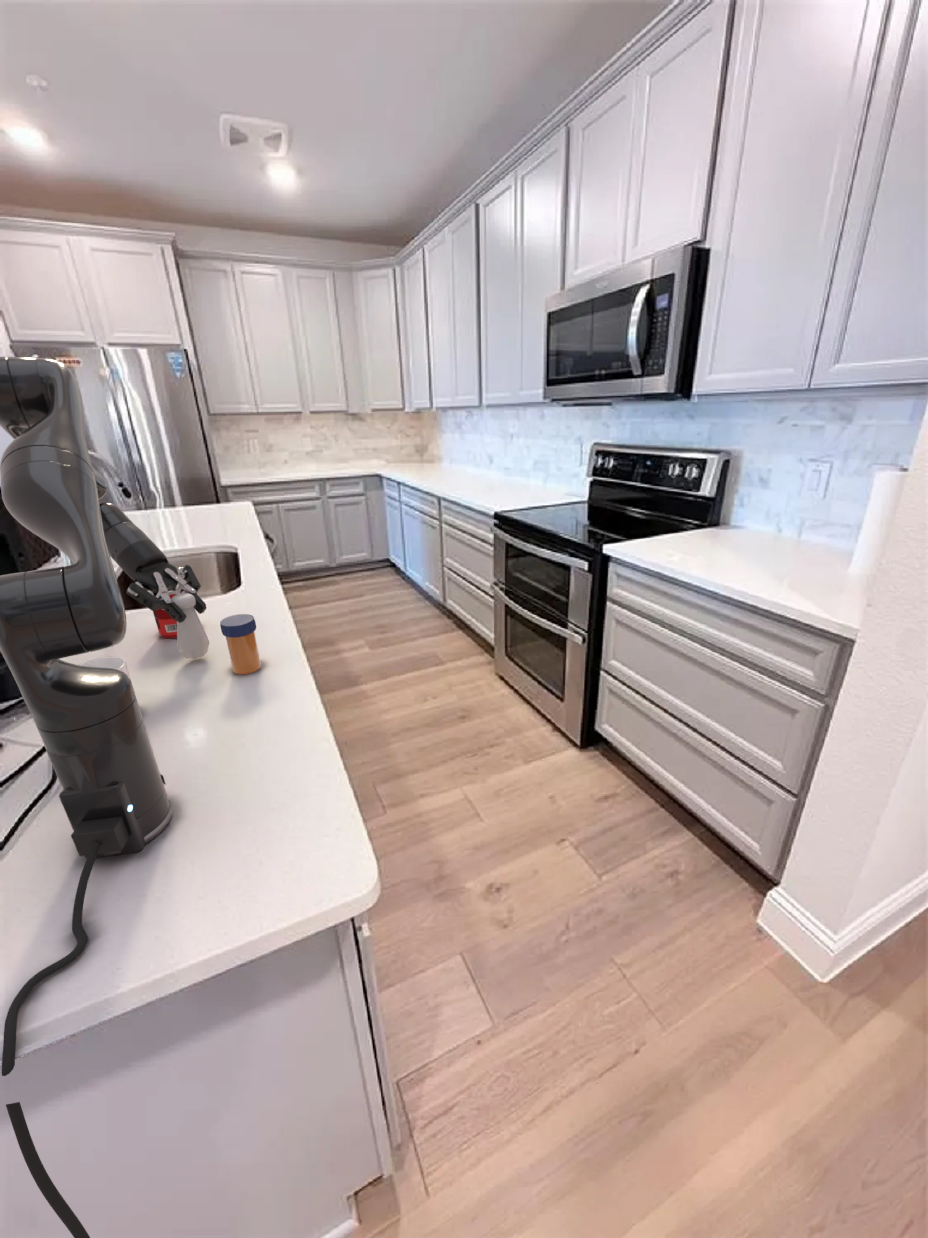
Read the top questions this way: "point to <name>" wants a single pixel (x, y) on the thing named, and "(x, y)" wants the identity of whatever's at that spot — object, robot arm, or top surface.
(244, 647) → the jar
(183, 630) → the salt shaker
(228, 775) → the top surface
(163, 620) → the canned food
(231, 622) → the lid
